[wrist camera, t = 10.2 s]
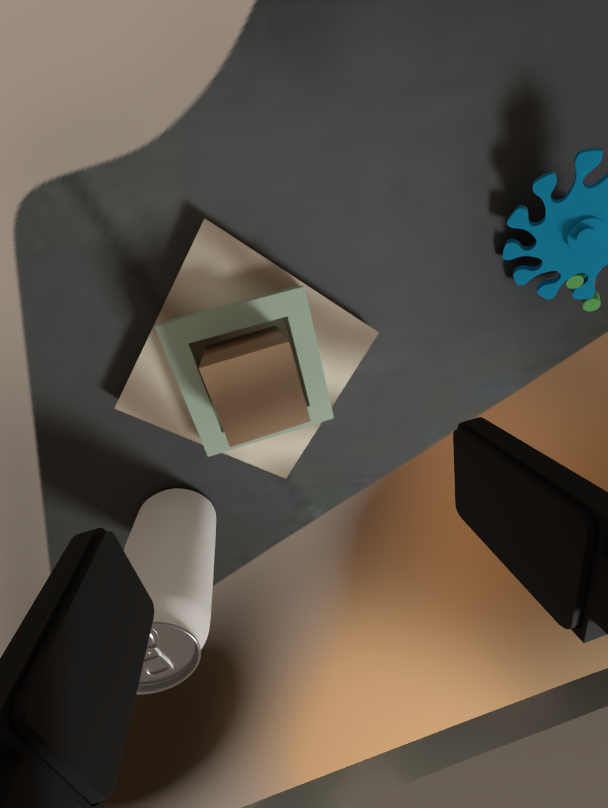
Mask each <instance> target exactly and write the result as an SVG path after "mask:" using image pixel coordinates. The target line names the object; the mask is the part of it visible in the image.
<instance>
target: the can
mask: <svg viewBox="0 0 608 808" xmlns="http://www.w3.org/2000/svg"><path fill="white" fill-rule="evenodd" d="M215 536H216V513H215V509H214V507H213V505H212V504H211V502H210V501H209V500H208V499H207V498H206V497H204V496H203V495H201V494H199V493H197V492H195V491H192V490H188V489H179V488H174V489H168V490H164V491H161V492H159V493H157V494H155V495H153V496H152V497H150V498H149V499H148V500H146V501H145V502H144V504H143V505H142V507H141V508H140V510H139V512H138V515H137V517H136V520H135V522H134V525H133V527H132V530H131V532H130V535H129V537H128V540H127V542H126V545H125V548H124V552H125V554H126V556H127V557H128V559H129V561H130V563H131V564H132V566H133V568H134V570H135V571H136V573H137V575H138V577H139V578H140V580H141V582H142V584H143V585H144V587H145V589H146V591H147V592H148V594H149V596H150V598H151V599H152V601H153V604H154V619H153V623H152V628H151V632H150V636H149V641H148V645H147V650H146V654H145V658H144V663H143V667H142V672H141V676H140V680H139V685H138V689H137V694H150V693H155V692H159V691H163V690H166V689H169V688H171V687H173V686H175V685H177V684H179V683H181V682H182V681H184V680H185V679H186V678H188V677H189V676H190V675H191V674H192V673H193V672H194V670H195V669H196V667H197V665H198V663H199V661H200V657H201V656H200V655H201V649H202V647H203V645H204V643H205V641H206V639H207V636H208V633H209V627H210V618H211V601H212V587H213V571H214V554H215Z"/></svg>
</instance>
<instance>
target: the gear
mask: <svg viewBox="0 0 608 808" xmlns="http://www.w3.org/2000/svg"><path fill="white" fill-rule="evenodd" d="M602 156H603V153H602V150H601V149H599V148H589V149H584V150H580V151H579V152H578V153H577V155H576V157H575V167H576V176H575V179H574V182H573V184H572V186H571V188H570V190H569V192H568V193H567V195H566V196H565V197H563V198H561V199H557V200H556V199H553V198H552V197H551V193H552V191H553V189H554V187H555V185H556V182H557V180H556V174H555V172H553V171H551V172H548V173H545V174H543V175H542V176H540V177H539V178H537V179H536V180H534V181H533V192H534V193H535V194H536V195H538V196H539V197H540V198H541V199H542V200H543V202H544V205H545V210H546V214H545V217H544V218H543V219H542V220H541V221H539V222H531V221H530V220H529V217H528V209H527V207H526V206H524V205H519V206H518V207H516V208H515V209H514V210H513V212H512V213H511V215H510V216H509V218H508V219H507V225H508V226H509V227H511V228H520V229H524V230H527V231H528V232H530V233H531V234H532V235H533V236H534V237H535V239H536V242H535V243H534V244H533V245H531V246H528V247H526V246H523V245H522V244H521V243H520V242H519V241H518V240H516V239H509V240H507V241H506V243H505V246H504V250H503V259H504V260H512V259H514V258H517V257H521V256H532V257H536V258H539V259H541V260H542V262H541V263H540V264H539V265H538V266H535V267H530V266H526V265H520V266H518V267H516V268H515V269H514V273H513V276H514V280H515V282H516V283H517V285H524V284H526V283H527V282H528V281H529V280H531V279H532V278H533V277H535V276H537V275H539V274H541V273H545V272H550V271H558V272H559V273H560V275H559V276H558V277H557V278H555V279H550V280H546V281H543V282H541V283H540V284H539V285H538V287H537V293H538V294H539V295H540V296H541V297H543V298H545V299H548V300H549V299H552V298H553V297H554V296H555V295H556V294H557V291H558V289H559V288H560V286H561V285H562V284H563V283H564V282H565V281H566V285H567V287H568V288H569V290H570V291H571V292H572V295H573V298H576V299H582V303H583V309H584V310H586V311H594V310H596V309H598V308H599V307H600V305H601V302H600V297H599V293H598V292H596V291H595V289H594V287H595V285H596V276H597V275H598V273H599V272H600V270H601V269H602V268H603V267H604V266H605V265H607V264H608V174H607V175H605V176H604V177H603V178H602V179H600V180H599V181H598V182H596V183H595V184H592V185H585V184H584V183H583V179H584V177H585V176H586V175H587V174H588V173H589V172H590V171H592V170H593V169H594V168H595V167H596V166H597V165H598V164H599V163H600V161H601V160H602Z"/></svg>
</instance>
